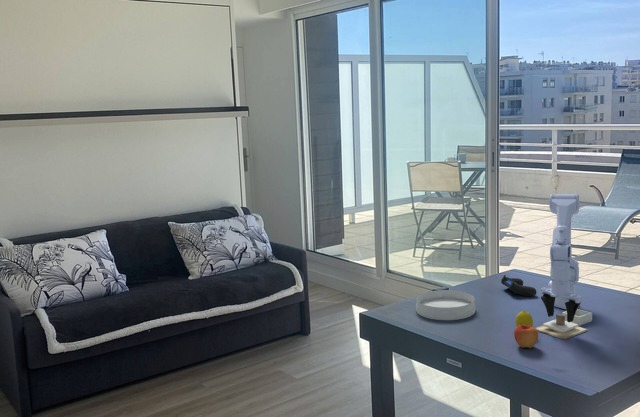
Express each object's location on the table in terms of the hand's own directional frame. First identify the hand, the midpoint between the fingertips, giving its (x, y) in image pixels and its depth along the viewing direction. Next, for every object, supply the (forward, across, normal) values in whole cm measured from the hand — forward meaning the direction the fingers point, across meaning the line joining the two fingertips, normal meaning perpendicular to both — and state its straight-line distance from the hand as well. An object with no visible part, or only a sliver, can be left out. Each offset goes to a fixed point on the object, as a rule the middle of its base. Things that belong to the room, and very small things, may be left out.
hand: (560, 318), depth 216 cm
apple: (+4, +2, -20) cm, 21 cm away
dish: (+5, -41, -13) cm, 43 cm away
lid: (+3, 0, 0) cm, 3 cm away
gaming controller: (+4, -38, +24) cm, 45 cm away
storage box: (+4, -2, +12) cm, 13 cm away
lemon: (+4, -6, -11) cm, 13 cm away
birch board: (+4, 0, 0) cm, 4 cm away
